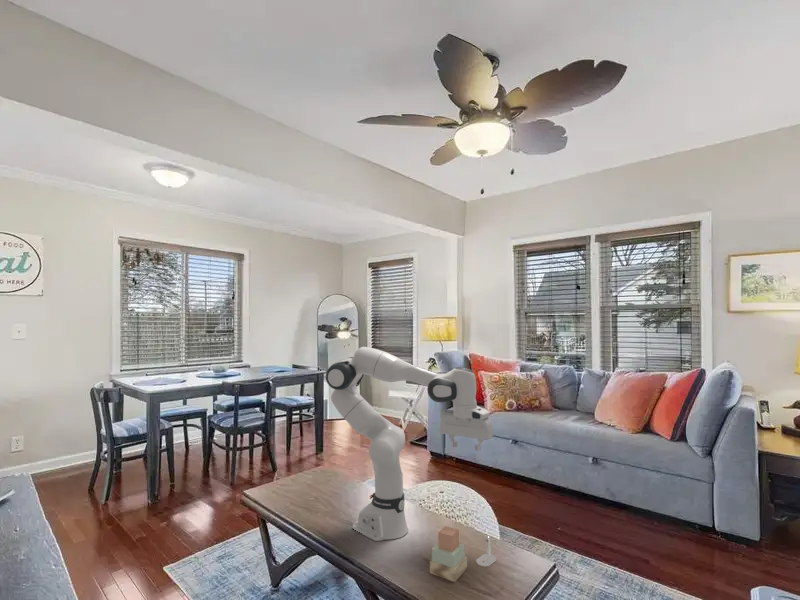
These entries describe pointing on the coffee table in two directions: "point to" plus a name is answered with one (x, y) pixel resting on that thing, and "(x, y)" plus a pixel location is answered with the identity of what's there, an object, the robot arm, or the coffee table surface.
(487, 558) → the stand
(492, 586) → the coffee table surface
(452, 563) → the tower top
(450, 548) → the terracotta block
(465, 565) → the tower base
